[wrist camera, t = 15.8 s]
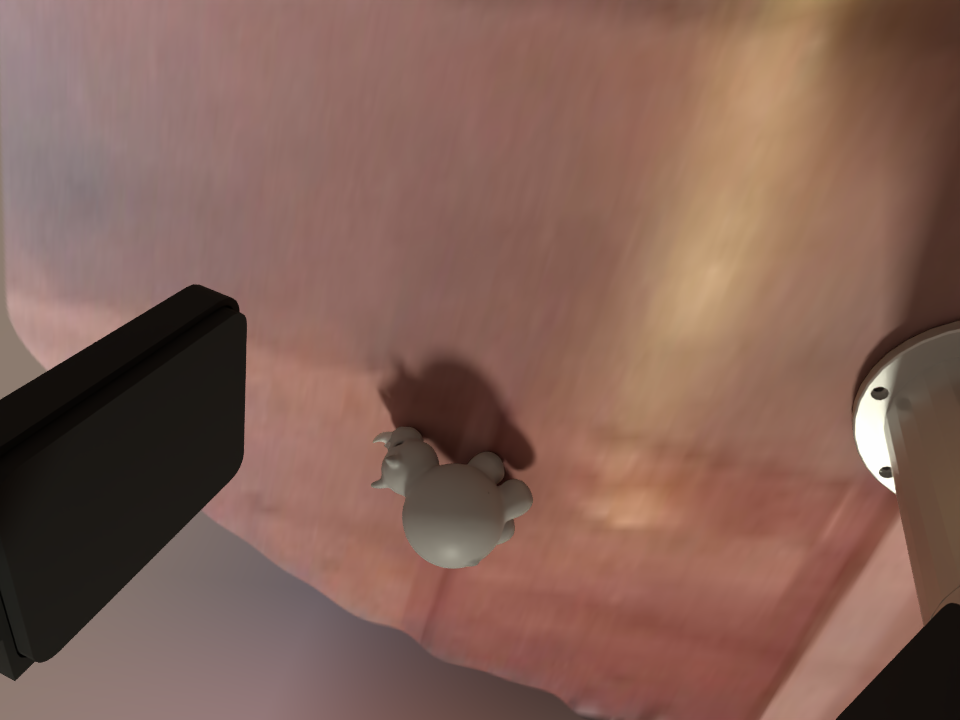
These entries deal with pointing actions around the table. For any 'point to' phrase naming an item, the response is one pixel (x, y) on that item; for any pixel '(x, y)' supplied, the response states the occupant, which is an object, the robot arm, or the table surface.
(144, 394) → the robot arm
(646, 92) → the table surface
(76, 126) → the table surface
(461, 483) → the toy rhinoceros
